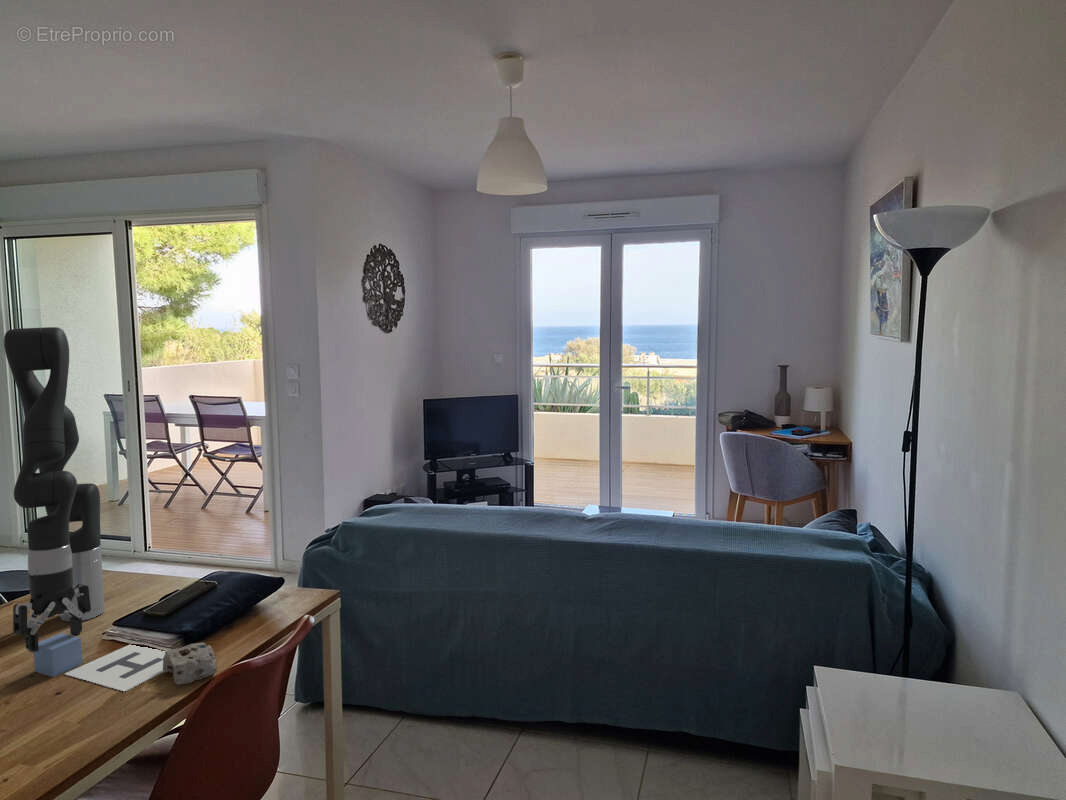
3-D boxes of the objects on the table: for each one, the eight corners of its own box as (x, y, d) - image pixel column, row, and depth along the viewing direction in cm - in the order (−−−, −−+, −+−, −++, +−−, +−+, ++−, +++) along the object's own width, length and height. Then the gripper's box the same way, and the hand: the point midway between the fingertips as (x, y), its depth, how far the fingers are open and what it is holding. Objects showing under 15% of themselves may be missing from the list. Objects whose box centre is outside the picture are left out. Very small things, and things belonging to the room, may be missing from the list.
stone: (159, 649, 146) (211, 635, 151) (164, 676, 146) (215, 661, 151) (160, 664, 135) (216, 649, 139) (165, 694, 134) (220, 677, 139)
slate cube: (34, 672, 144) (32, 644, 143) (64, 659, 149) (62, 633, 149) (53, 677, 141) (51, 649, 141) (82, 664, 147) (80, 637, 146)
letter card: (64, 674, 142) (64, 673, 142) (135, 642, 157) (135, 641, 157) (124, 692, 135) (124, 690, 135) (192, 657, 150) (192, 656, 150)
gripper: (73, 555, 151) (77, 627, 152) (1, 575, 138) (6, 653, 139) (96, 559, 148) (100, 632, 149) (25, 580, 135) (30, 660, 136)
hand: (55, 642), depth 144 cm, fingers open, 8 cm apart
